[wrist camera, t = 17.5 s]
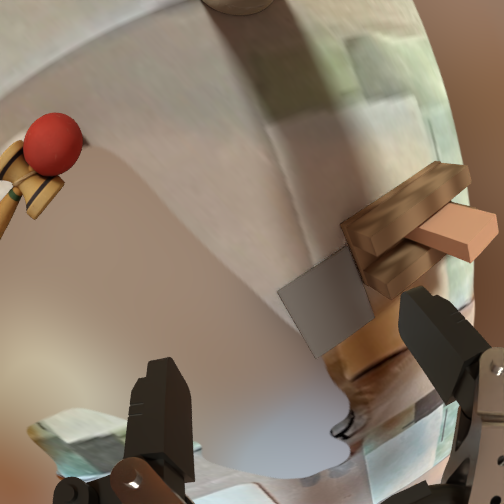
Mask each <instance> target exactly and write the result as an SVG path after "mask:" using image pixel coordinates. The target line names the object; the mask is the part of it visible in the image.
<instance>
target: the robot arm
mask: <svg viewBox="0 0 504 504" xmlns="http://www.w3.org/2000/svg"><path fill="white" fill-rule="evenodd" d="M202 1H203V2H205V3H206V4H207V5H208V6H210V7H211V8H213V9H215V10H217V11H220V12H222V13H226V14H231V15H250V14H254V13H257V12H260V11H262V10H263V9H265V8H266V7H268V6H269V5H270V4H271V3H272V1H273V0H202ZM398 328H399V333H400V336H401V338H402V340H403V342H404V343H405V345H406V346H407V347H408V349H409V350H410V352H411V353H412V355H413V356H414V358H415V359H416V360H417V362H418V363H419V365H420V366H421V368H422V369H423V371H424V372H425V374H426V375H427V377H428V378H429V380H430V381H431V383H432V384H433V386H434V387H435V389H436V391H437V392H438V394H439V395H440V397H441V398H442V400H443V401H444V403H445V405H446V406H447V405H448V404H450V403H452V402H454V401H456V400H457V402H458V403H459V405H460V406H459V408H458V413H457V420H456V427H455V433H454V439H453V444H452V450H451V454H450V458H449V461H448V463H447V465H446V468H445V470H444V473H443V476H442V480H441V484H435V485H429V486H428V484H427V482H426V480H425V481H423V482H420V483H418V484H416V485H414V486H412V487H410V488H408V489H406V490H403V491H401V492H399V493H397V494H394V495H392V496H391V497H389V498H388V499H386V500H385V501H383V502H382V503H381V504H504V348H499V347H494V348H492V347H491V346H490V345H489V344H488V343H487V342H486V340H485V339H484V338H483V337H482V336H481V335H480V334H479V333H478V331H477V330H476V329H475V328H474V327H473V326H472V325H471V324H470V323H469V322H468V320H465V317H464V316H463V315H462V314H461V313H460V312H458V310H457V309H456V308H455V307H454V305H453V304H452V303H451V302H450V301H448V300H446V299H444V298H442V297H440V296H438V295H435V296H432V295H431V294H430V293H429V292H428V291H427V290H426V289H425V288H424V287H423V286H419V287H416V288H413V289H410V290H408V291H405V292H403V293H402V294H401V298H400V311H399V321H398ZM191 408H192V405H191V395H190V391H189V388H188V385H187V383H186V381H185V380H184V378H183V376H182V375H181V373H180V371H179V369H178V368H177V366H176V364H175V362H174V361H173V359H172V358H171V357H167V358H163V359H157V360H152V361H149V362H148V366H147V375H146V377H144V378H139V379H138V381H137V382H136V384H135V386H134V388H133V389H132V392H131V399H130V407H129V414H128V415H129V417H128V422H127V431H126V440H125V450H124V457H123V460H121V461H119V462H118V463H117V464H116V465H115V466H114V468H113V469H112V471H111V474H110V475H108V476H106V477H103V478H100V479H97V480H94V481H90V482H87V483H85V482H84V481H82V480H81V479H79V478H77V477H67V478H65V479H63V480H61V481H60V482H59V483H58V484H57V486H56V488H55V490H54V495H53V496H54V497H53V504H195V503H194V502H193V501H192V500H191V499H190V498H189V497H188V496H187V495H186V494H185V483H188V482H195V473H194V455H193V435H192V409H191Z"/></svg>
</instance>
